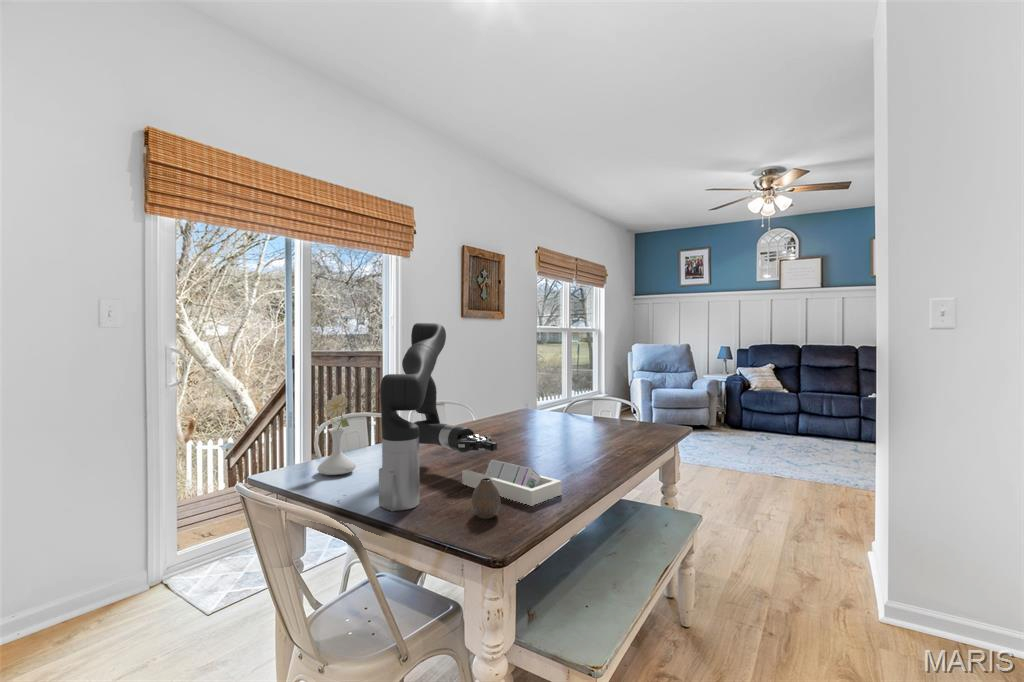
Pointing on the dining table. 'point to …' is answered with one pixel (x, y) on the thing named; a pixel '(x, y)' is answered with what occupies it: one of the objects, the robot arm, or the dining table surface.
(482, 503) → the vase
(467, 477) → the rectangular tray
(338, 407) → the flower in vase
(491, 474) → the syrup box
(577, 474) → the dining table surface
